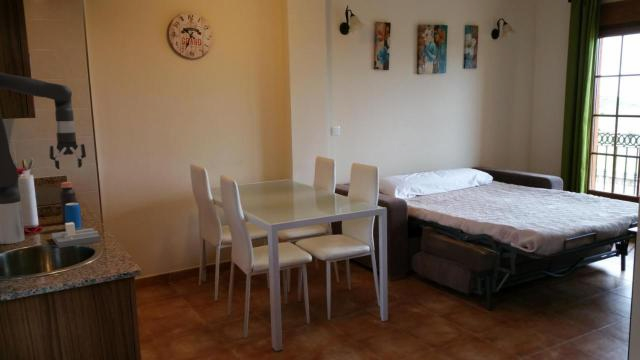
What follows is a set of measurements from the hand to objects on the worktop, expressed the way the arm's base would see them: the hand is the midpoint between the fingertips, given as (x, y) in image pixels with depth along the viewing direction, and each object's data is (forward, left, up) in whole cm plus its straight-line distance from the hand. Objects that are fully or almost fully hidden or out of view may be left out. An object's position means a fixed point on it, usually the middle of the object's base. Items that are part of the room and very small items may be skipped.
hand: (69, 168), depth 229 cm
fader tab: (-3, -12, -27) cm, 30 cm away
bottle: (+3, +28, -30) cm, 41 cm away
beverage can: (+2, +12, -30) cm, 33 cm away
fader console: (-2, -11, -30) cm, 32 cm away
